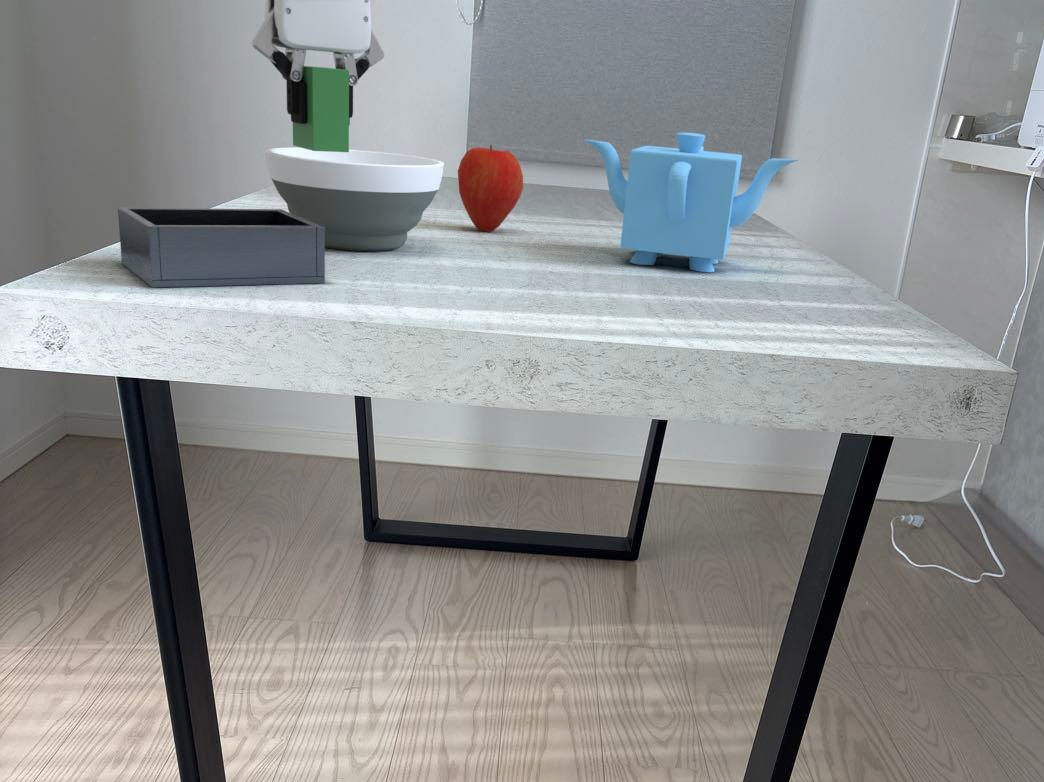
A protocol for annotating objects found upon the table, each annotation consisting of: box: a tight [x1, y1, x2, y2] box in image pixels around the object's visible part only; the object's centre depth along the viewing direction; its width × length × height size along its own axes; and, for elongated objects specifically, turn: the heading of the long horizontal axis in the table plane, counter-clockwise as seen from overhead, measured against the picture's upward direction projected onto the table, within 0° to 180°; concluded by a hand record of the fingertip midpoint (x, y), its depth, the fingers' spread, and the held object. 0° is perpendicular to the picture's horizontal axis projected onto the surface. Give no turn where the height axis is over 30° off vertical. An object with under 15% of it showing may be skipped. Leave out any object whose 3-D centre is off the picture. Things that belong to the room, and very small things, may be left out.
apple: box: [457, 144, 524, 233], centre depth 138 cm, size 9×8×11 cm
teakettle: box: [584, 132, 799, 273], centre depth 126 cm, size 19×19×15 cm
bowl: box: [265, 147, 445, 252], centre depth 119 cm, size 20×20×10 cm
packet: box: [292, 65, 350, 152], centre depth 111 cm, size 6×4×8 cm, turn 32°
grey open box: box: [117, 206, 326, 289], centre depth 98 cm, size 16×12×5 cm
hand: (320, 122), depth 112 cm, fingers closed on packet, 4 cm apart
